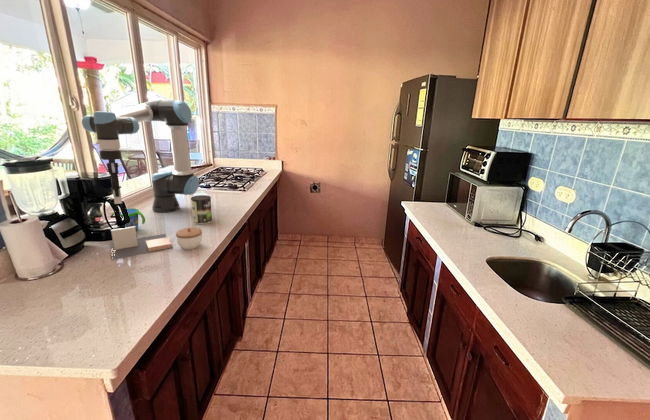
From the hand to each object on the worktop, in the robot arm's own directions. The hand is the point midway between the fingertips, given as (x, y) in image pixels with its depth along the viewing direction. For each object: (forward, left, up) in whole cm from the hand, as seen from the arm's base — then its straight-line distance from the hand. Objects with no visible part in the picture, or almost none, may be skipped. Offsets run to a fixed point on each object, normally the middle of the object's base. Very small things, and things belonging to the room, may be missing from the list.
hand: (118, 203), depth 135 cm
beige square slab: (+9, +12, -17) cm, 23 cm away
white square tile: (+8, 0, -18) cm, 20 cm away
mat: (+9, +6, -19) cm, 22 cm away
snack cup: (-16, +3, -19) cm, 25 cm away
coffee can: (-12, +38, -19) cm, 44 cm away
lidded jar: (+21, +24, -19) cm, 37 cm away
